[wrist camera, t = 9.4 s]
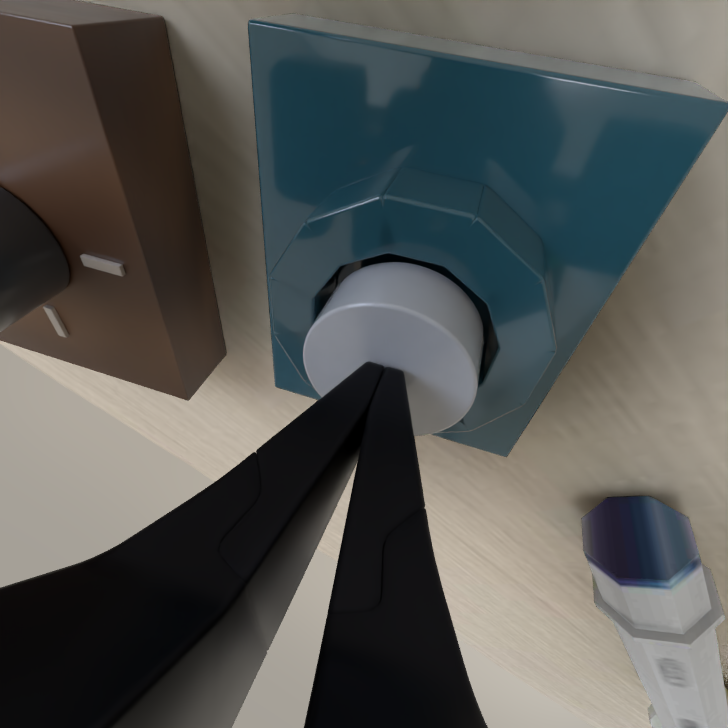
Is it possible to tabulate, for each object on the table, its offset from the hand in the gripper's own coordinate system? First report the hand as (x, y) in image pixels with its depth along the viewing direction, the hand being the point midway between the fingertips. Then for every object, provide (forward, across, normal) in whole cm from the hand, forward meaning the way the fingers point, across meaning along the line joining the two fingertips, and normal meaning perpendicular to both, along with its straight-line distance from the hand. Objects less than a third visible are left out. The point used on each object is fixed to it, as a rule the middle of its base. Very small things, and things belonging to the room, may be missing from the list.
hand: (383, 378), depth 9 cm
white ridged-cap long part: (+6, -18, +18) cm, 26 cm away
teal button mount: (+5, 0, 0) cm, 5 cm away
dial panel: (+5, +13, +1) cm, 14 cm away
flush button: (+2, 0, 0) cm, 2 cm away
